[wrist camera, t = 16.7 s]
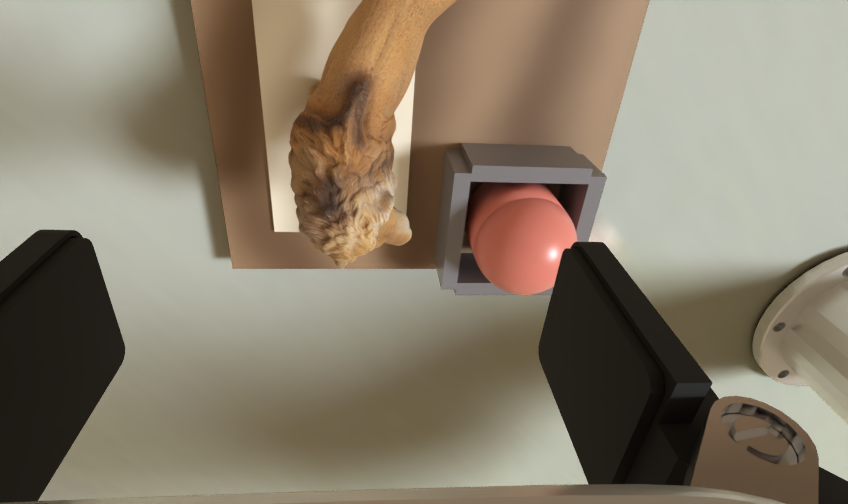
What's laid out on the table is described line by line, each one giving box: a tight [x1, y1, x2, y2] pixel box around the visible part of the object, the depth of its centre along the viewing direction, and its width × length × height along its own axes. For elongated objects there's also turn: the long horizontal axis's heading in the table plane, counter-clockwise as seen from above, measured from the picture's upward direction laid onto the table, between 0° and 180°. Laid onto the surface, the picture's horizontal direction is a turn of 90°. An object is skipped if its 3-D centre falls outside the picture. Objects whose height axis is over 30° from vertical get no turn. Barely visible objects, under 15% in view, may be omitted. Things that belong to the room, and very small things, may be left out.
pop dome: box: [464, 182, 577, 295], centre depth 24 cm, size 5×5×6 cm
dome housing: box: [434, 143, 607, 295], centre depth 26 cm, size 7×7×3 cm
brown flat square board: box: [191, 0, 650, 269], centre depth 24 cm, size 20×20×1 cm
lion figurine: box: [288, 0, 456, 269], centre depth 18 cm, size 15×5×9 cm, turn 163°
